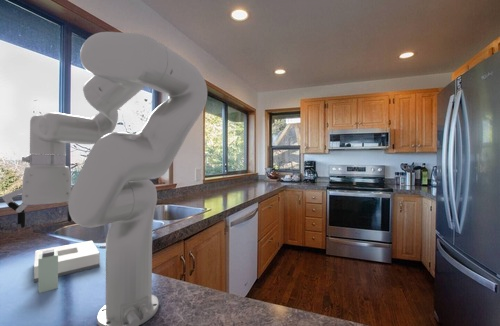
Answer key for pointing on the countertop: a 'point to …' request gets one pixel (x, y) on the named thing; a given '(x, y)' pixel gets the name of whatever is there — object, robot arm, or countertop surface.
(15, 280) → the countertop surface
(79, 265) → the block
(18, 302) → the countertop surface
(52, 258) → the pale green block
